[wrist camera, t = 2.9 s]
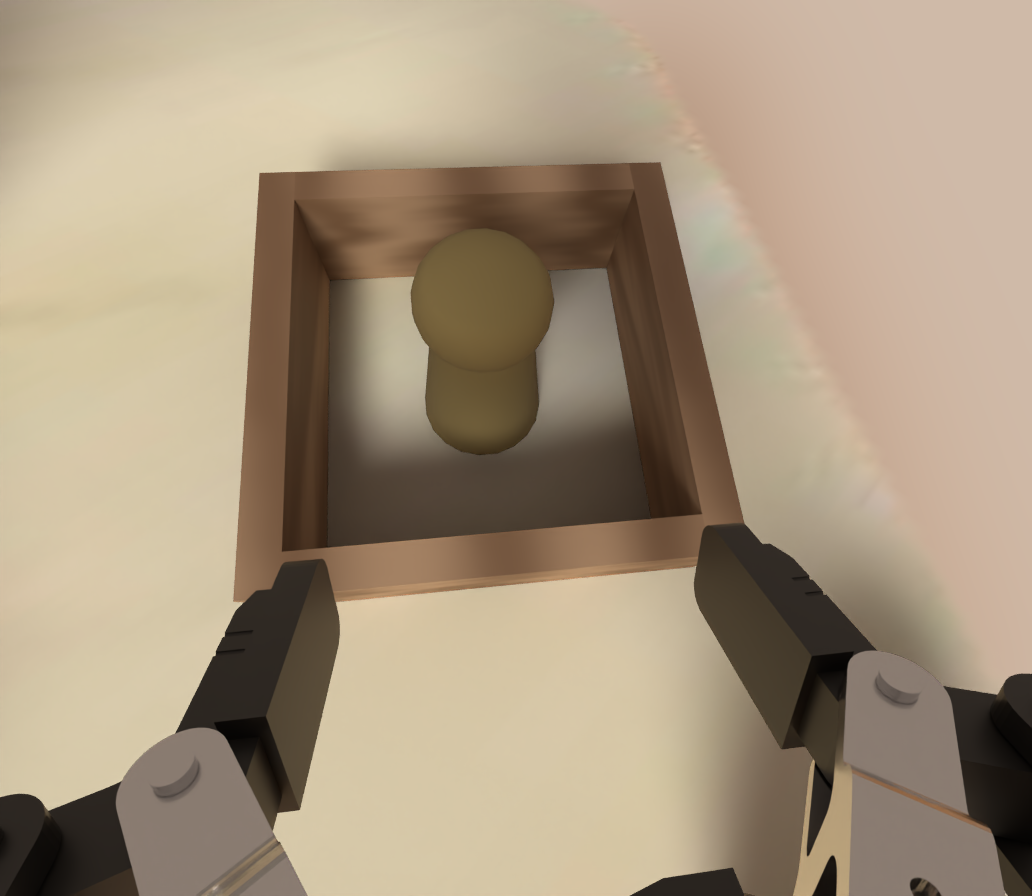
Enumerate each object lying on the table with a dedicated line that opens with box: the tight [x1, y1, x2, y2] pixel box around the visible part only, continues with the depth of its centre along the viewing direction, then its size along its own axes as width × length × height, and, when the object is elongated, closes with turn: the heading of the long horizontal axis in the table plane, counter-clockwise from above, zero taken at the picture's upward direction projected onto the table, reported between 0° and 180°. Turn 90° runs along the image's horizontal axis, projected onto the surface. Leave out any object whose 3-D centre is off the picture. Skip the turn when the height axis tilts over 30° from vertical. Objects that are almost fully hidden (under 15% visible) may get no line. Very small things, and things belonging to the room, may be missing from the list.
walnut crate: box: [233, 162, 744, 602], centre depth 25 cm, size 19×19×6 cm
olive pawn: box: [411, 228, 554, 455], centre depth 23 cm, size 6×6×11 cm
